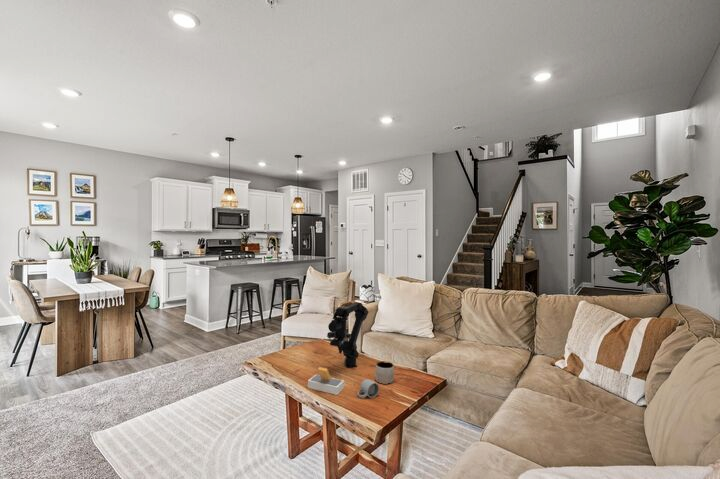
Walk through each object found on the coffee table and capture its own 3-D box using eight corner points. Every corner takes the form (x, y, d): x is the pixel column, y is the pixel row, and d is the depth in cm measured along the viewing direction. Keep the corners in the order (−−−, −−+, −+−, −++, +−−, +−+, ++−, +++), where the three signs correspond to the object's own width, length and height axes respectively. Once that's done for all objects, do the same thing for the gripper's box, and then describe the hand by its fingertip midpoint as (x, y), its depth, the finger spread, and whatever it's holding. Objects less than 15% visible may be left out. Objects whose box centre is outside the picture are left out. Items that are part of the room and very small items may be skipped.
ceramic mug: (370, 389, 183) (370, 375, 183) (379, 395, 177) (379, 381, 176) (354, 394, 177) (354, 380, 177) (363, 401, 171) (363, 386, 170)
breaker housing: (315, 381, 191) (316, 373, 191) (344, 387, 184) (344, 380, 184) (307, 387, 182) (308, 380, 182) (337, 394, 176) (337, 386, 176)
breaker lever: (322, 376, 184) (319, 366, 180) (330, 378, 182) (327, 368, 178) (321, 379, 183) (318, 369, 179) (329, 381, 181) (326, 371, 177)
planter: (378, 385, 189) (379, 369, 189) (372, 377, 199) (373, 361, 199) (396, 384, 192) (396, 367, 191) (389, 376, 202) (390, 360, 202)
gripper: (336, 322, 215) (335, 346, 216) (322, 330, 198) (321, 355, 198) (351, 325, 211) (350, 349, 211) (339, 332, 194) (338, 359, 194)
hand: (340, 353), depth 204 cm, fingers closed
